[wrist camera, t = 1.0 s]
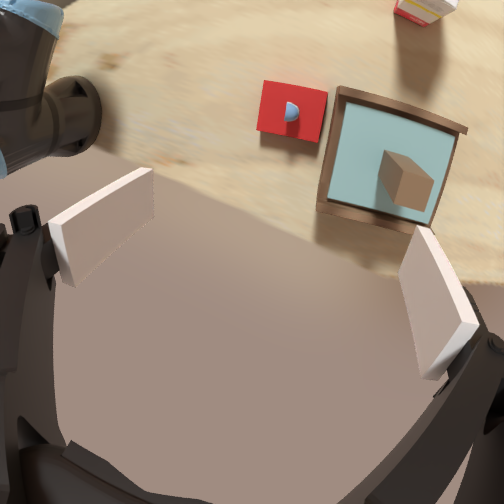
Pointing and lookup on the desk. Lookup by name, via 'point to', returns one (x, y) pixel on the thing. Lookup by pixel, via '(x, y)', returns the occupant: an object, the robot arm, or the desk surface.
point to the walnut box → (331, 148)
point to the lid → (389, 163)
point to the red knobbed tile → (291, 110)
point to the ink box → (424, 10)
